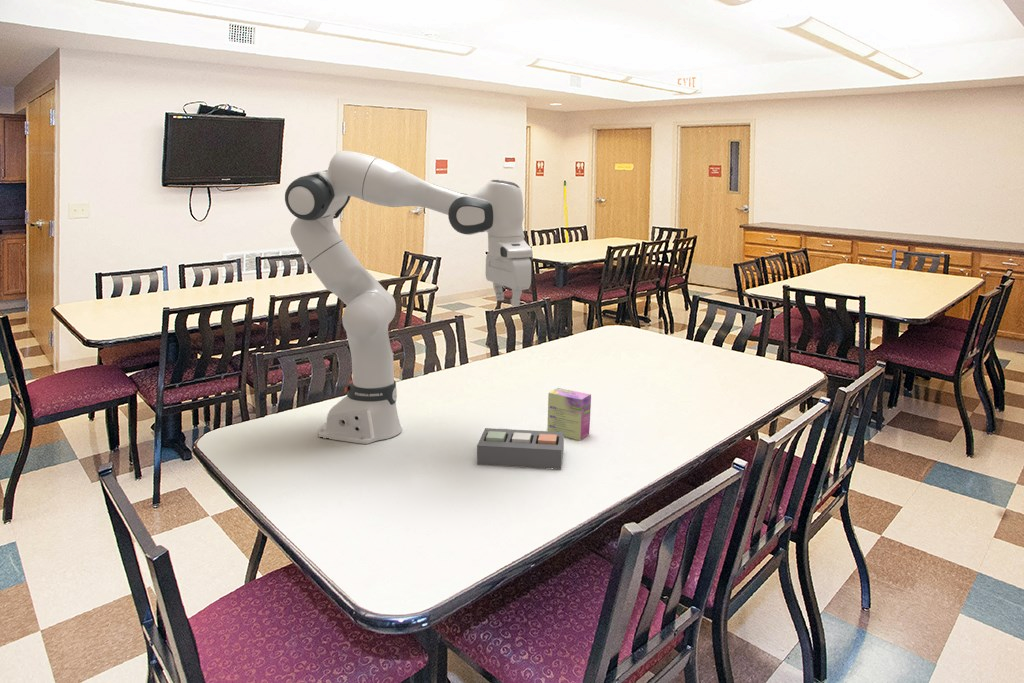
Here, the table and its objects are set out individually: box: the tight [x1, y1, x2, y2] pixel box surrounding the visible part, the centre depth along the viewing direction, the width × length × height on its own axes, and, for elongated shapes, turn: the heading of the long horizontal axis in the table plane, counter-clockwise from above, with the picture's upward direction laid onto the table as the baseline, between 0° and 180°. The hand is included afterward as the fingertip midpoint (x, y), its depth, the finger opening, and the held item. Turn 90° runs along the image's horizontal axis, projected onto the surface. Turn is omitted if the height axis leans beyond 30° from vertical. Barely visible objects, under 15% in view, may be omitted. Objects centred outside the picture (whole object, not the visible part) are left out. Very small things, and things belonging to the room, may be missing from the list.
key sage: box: [486, 431, 506, 442], centre depth 174 cm, size 4×4×2 cm
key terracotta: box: [538, 434, 557, 445], centre depth 172 cm, size 4×4×2 cm
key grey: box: [512, 432, 531, 443], centre depth 173 cm, size 4×4×2 cm
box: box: [546, 387, 592, 441], centre depth 189 cm, size 10×6×12 cm, turn 58°
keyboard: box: [476, 427, 565, 470], centre depth 174 cm, size 21×12×5 cm, turn 83°
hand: (507, 303), depth 173 cm, fingers open, 8 cm apart
